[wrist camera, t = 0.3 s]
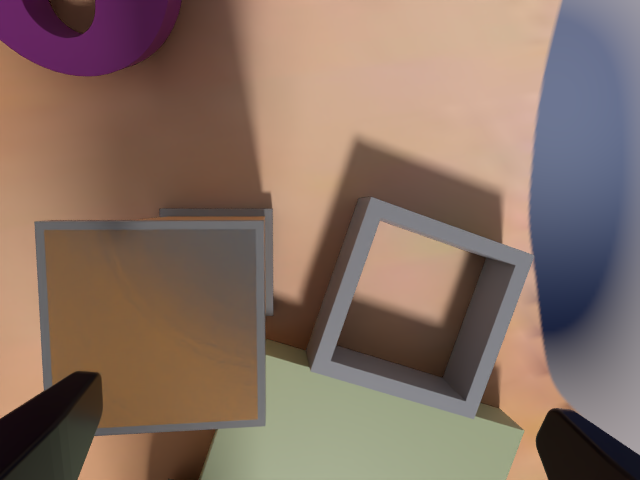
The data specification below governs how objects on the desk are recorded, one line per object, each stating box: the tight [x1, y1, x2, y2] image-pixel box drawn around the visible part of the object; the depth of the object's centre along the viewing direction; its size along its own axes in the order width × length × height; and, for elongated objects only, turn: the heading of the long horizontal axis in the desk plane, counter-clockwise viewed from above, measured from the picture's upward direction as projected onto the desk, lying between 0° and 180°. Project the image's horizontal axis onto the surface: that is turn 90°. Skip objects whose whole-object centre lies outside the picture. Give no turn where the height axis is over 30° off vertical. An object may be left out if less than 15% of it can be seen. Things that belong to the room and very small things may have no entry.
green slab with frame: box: [168, 197, 534, 480], centre depth 22 cm, size 22×19×4 cm
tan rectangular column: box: [35, 209, 273, 436], centre depth 17 cm, size 6×6×12 cm
